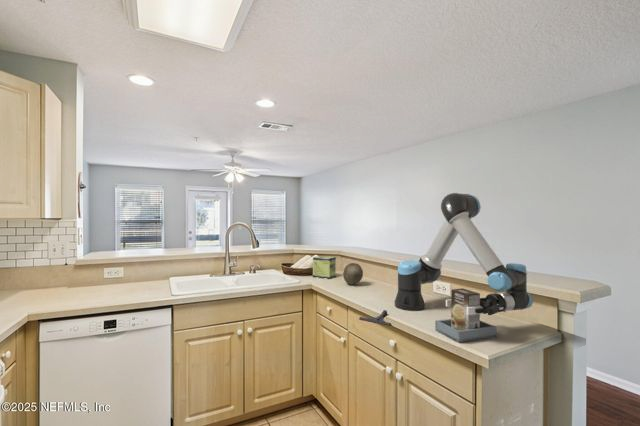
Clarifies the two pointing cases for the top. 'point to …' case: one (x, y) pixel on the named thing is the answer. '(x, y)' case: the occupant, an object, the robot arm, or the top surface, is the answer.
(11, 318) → the top surface
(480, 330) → the tray
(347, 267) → the dark brown ball
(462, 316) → the coffee box
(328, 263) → the protein box
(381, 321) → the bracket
